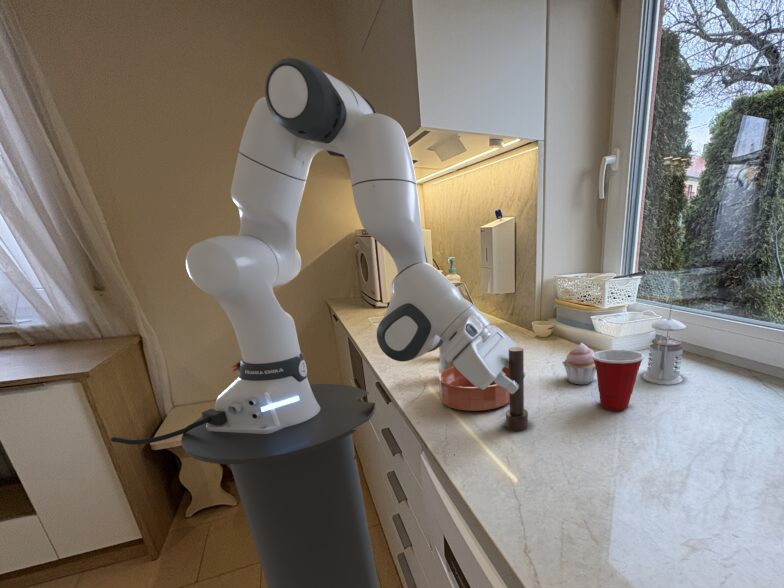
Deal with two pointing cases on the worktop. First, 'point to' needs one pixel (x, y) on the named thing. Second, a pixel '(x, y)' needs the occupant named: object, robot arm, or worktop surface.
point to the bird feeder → (665, 352)
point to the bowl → (470, 392)
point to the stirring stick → (516, 413)
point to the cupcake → (580, 365)
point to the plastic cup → (616, 376)
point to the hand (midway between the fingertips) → (519, 384)
